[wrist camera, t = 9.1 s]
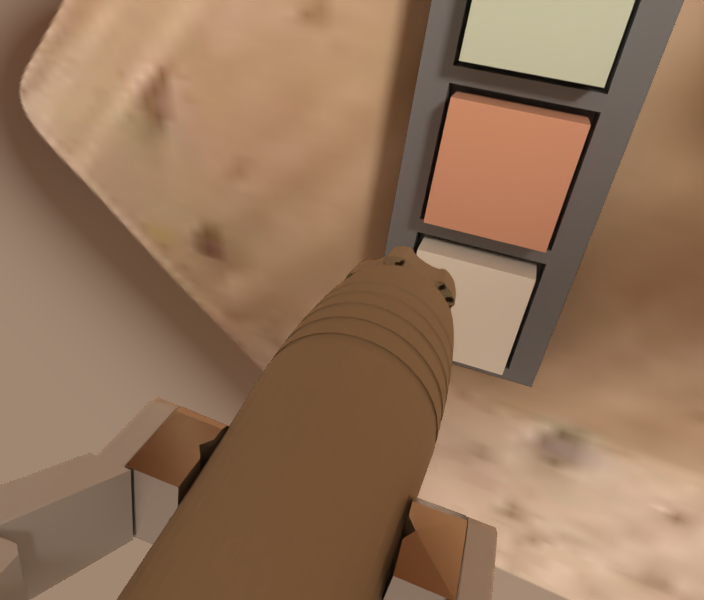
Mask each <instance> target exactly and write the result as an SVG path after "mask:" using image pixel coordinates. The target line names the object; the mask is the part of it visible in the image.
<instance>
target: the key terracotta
mask: <svg viewBox="0 0 704 600" xmlns="http://www.w3.org/2000/svg"><path fill="white" fill-rule="evenodd" d="M590 126H591V124H590V121H589V118H588V116H584V115H578V114H573V113H568V112H563V111H558V110H553V109H548V108H543V107H538V106H533V105H528V104H523V103H518V102H513V101H508V100H503V99H498V98H493V97H488V96H483V95H477V94H472V93H467V92H462V91H457V92H456V93H455V94H454V95H453V96H451V99H450V103H449V108H448V112H447V117H446V122H445V126H444V131H443V135H442V140H441V144H440V149H439V153H438V158H437V163H436V167H435V172H434V176H433V181H432V185H431V190H430V195H429V199H428V204H427V208H426V213H425V217H424V223H428V224H432V225H436V226H440V227H444V228H448V229H452V230H456V231H460V232H464V233H468V234H472V235H476V236H480V237H484V238H488V239H492V240H496V241H500V242H504V243H508V244H512V245H517V246H521V247H525V248H529V249H533V250H537V251H541V252H545V253H546V250H547V247H548V245H549V242H550V239H551V236H552V233H553V231H554V228H555V225H556V222H557V219H558V216H559V214H560V211H561V208H562V205H563V202H564V199H565V197H566V194H567V191H568V188H569V185H570V183H571V180H572V177H573V174H574V171H575V168H576V166H577V163H578V160H579V157H580V154H581V152H582V149H583V146H584V143H585V140H586V137H587V135H588V132H589V129H590Z"/></svg>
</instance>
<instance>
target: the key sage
mask: <svg viewBox="0 0 704 600" xmlns="http://www.w3.org/2000/svg"><path fill="white" fill-rule="evenodd" d="M634 2H635V0H472V3H471V8H470V12H469V17H468V21H467V26H466V30H465V35H464V39H463V44H462V49H461V53H460V58H459V61H463V62H469V63H474V64H479V65H485V66H490V67H495V68H501V69H506V70H511V71H517V72H522V73H527V74H533V75H538V76H543V77H549V78H554V79H560V80H565V81H570V82H576V83H581V84H586V85H592V86H597V87H602V88H604V87H605V84H606V81H607V78H608V75H609V73H610V70H611V67H612V64H613V61H614V58H615V56H616V53H617V50H618V47H619V44H620V42H621V39H622V36H623V33H624V30H625V27H626V25H627V22H628V19H629V16H630V13H631V11H632V8H633V5H634Z"/></svg>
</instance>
